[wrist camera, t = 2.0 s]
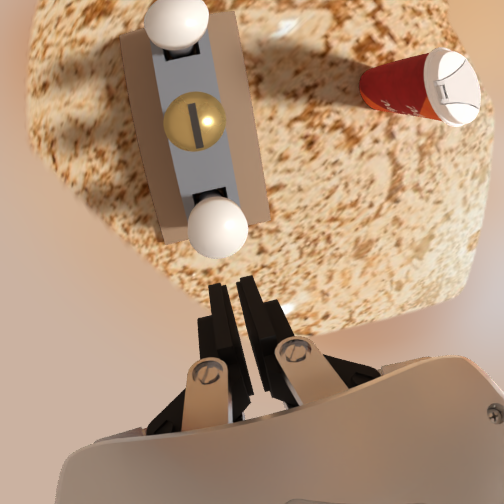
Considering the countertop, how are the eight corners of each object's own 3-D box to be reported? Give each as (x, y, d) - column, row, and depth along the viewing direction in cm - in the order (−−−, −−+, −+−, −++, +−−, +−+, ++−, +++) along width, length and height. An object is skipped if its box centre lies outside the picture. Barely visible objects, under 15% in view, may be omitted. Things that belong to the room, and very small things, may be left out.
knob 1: (155, 36, 21) (141, 1, 13) (200, 26, 21) (204, -12, 13) (162, 74, 23) (148, 51, 15) (207, 64, 23) (213, 37, 15)
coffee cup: (364, 125, 33) (448, 137, 20) (342, 67, 29) (422, 49, 16) (407, 110, 33) (490, 119, 19) (389, 56, 29) (470, 44, 16)
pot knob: (170, 108, 24) (157, 99, 15) (211, 99, 25) (220, 85, 16) (178, 147, 26) (170, 158, 17) (218, 138, 27) (231, 144, 18)
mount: (121, 37, 23) (105, 19, 17) (233, 14, 24) (243, -10, 18) (166, 241, 35) (161, 268, 28) (268, 217, 36) (285, 239, 30)
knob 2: (184, 184, 28) (181, 209, 20) (227, 174, 28) (242, 195, 20) (194, 224, 30) (196, 264, 22) (235, 215, 30) (252, 251, 22)
